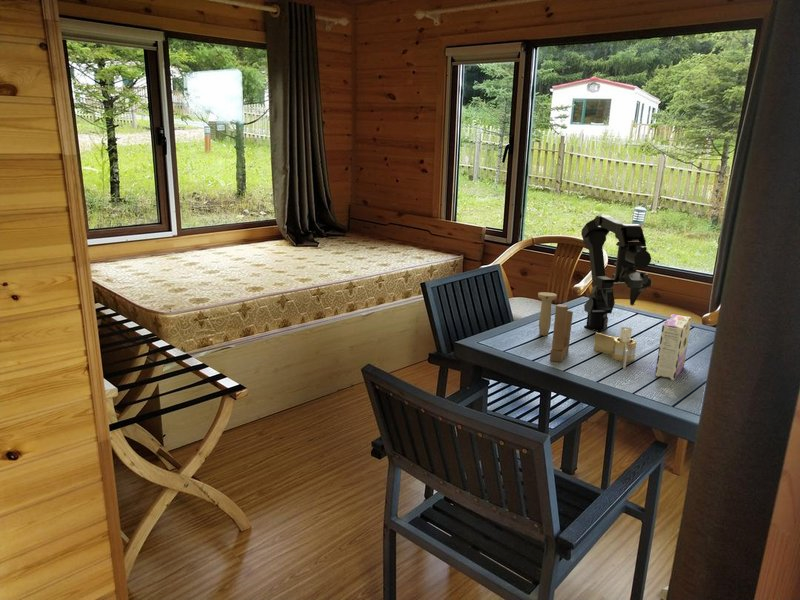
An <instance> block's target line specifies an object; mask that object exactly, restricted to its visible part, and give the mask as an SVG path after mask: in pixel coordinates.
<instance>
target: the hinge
mask: <svg viewBox="0 0 800 600" xmlns="http://www.w3.org/2000/svg"><path fill="white" fill-rule="evenodd" d="M619 341H620V336H617V337H615V336H613V335H612V336H610V335H608V334H604V333H600V332H598V331H596V332H595V335H594V342H593V351H597V352H600V353H603V354H607V355H609V354H610V356H611V357H612V359H613V360H616V361H618V360H619V361H618V362H621V361H622V363H623V364H622V367H623V368H622V369H623V370H626V368H627V362H628V363H630V362H633V361H635V357H636V349H637V341H636V340H635V339H633V338H631V340H630V343H623V342H619Z"/></svg>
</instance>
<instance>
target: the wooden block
mask: <svg viewBox="0 0 800 600" xmlns="http://www.w3.org/2000/svg"><path fill="white" fill-rule="evenodd" d="M568 309H569V306H568V305H566V304H562V303H561V304H560V303H559V304H556V305H555V311H554V312H555V313H554V323H553V333H552V342H551V350H550V354H549V361H552V362H556V363H562V362H563V360H564V359H565V357H566V356H567V355H568V353H569V349H570V340H571V332H572V323H573V313H574V312H573V311H571V310H568Z"/></svg>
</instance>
